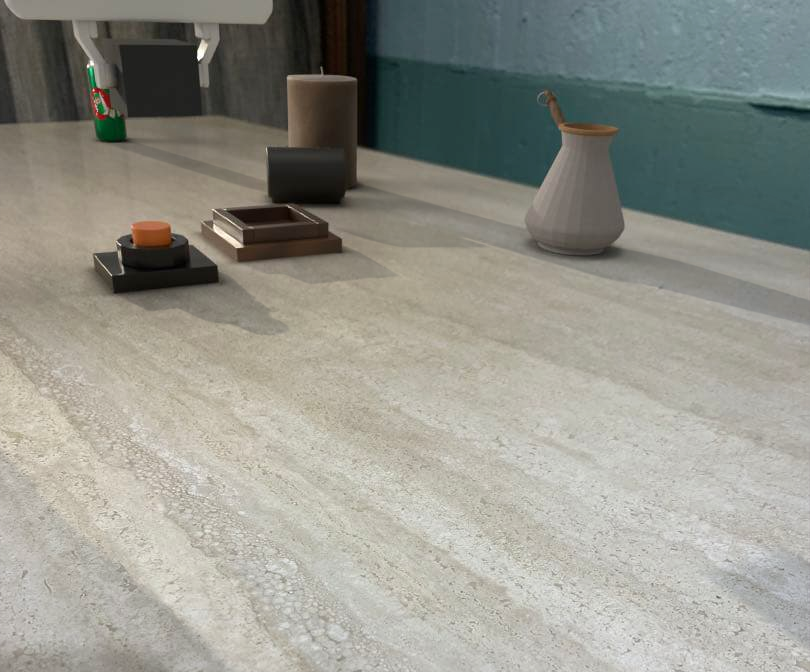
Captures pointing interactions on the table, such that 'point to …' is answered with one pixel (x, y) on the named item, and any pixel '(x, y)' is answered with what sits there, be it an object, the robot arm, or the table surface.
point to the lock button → (151, 233)
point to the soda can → (105, 112)
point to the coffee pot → (577, 191)
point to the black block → (154, 77)
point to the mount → (269, 232)
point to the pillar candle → (324, 115)
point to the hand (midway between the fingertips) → (153, 87)
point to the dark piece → (154, 265)
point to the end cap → (306, 174)
